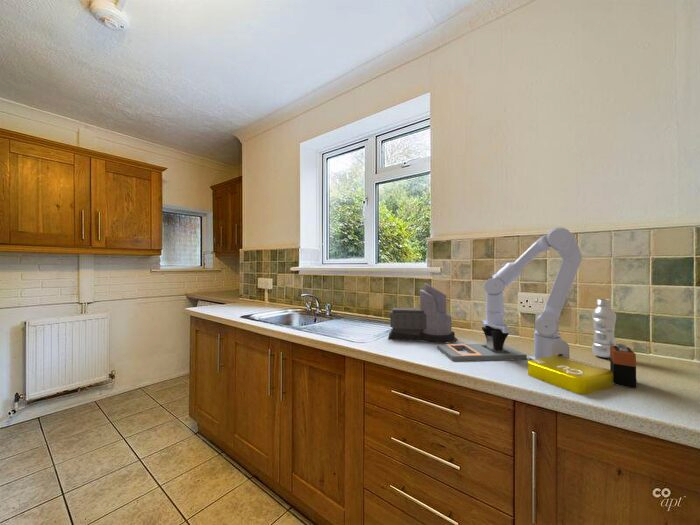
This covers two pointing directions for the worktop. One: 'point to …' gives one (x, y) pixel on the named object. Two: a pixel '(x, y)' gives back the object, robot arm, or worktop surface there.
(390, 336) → the juicer
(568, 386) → the element tile
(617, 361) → the battery
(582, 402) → the worktop surface
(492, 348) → the block
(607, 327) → the plastic bottle
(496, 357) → the rail plate
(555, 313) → the robot arm
